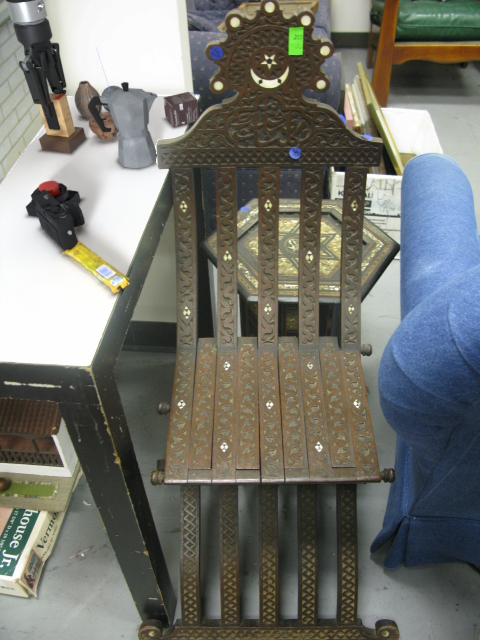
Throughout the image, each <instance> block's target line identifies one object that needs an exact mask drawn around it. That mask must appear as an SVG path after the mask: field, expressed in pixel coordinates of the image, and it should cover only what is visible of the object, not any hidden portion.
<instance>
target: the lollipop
mask: <svg viewBox="0 0 480 640" xmlns="http://www.w3.org/2000/svg"><path fill="white" fill-rule="evenodd" d="M95 49H96V52H97V55H98V58H99V61H100V64H101V67H102V69H103V70H102V71H103V73H104V74H106V73H105V70H104V67H103V63H102V61H101V58H100V54H99V51H98V48H97V47H95ZM105 79H106V83H107V87H105V88H104V89H103V91H102V92H101V95H100V96H102V95H109V94H110V93H111V92H114V91H117V90H121V89H123V88H122V87H120V86H118V85H109V82H108V79H107V76H106V75H105ZM102 108H103V109H104V110H106V111H107V113H111V112H110V110H109V107H108V105H102Z"/></svg>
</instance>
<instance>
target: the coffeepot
mask: <svg viewBox="0 0 480 640" xmlns="http://www.w3.org/2000/svg"><path fill="white" fill-rule="evenodd" d="M120 85H121V88H122V89H121V90H117V91H114V92H111V93H110V94H109V95H102V94H101V95H102V96H101V95H100V96H94V97H92V99H91V100H90V102H89V104H88V109H89V111H90V113H91V114H92V116H93V117H94V119H95V121H96V122H97V124H98V126H99V127H100V129H101V131H102V132H111V129H112V128H106V127H105V125H104V121H103V119H102V118H101V117H100V114H101V113H100V114H99V112H98V110H97V108H96V106H97V105H102V106H103V105H108V107H109V110H110V112H111V115H112V118H113V121H114V123H115V126H116V127H117V129H118V131H117V132H118V135H117V152H118V153H117V154H118V155H117V157H118V158H117V159H118V162H119V163H120V164H121V166H123V167H125V168H128V169H142V168H146V167H148V166H151V165H152V164H154V163H155V162H156V160H157V158H158V156H157V155H158V153H157V154H156V152H157V149H156V147H155V143H154V140H153V137H152V134H151V132H150V130H149V128H148V125H149V123H150V111H151V109H152V106H153V104H154V102H155V100H156V99H157V98H159V97H158V94H157V93H155V92H152V91H145V90H144V89H143V88H135V87H134V88H132V87H130V84H129V82H128V81H123V82H121V83H120ZM110 112H109V113H110Z"/></svg>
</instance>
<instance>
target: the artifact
mask: <svg viewBox="0 0 480 640" xmlns="http://www.w3.org/2000/svg"><path fill="white" fill-rule="evenodd" d="M100 117H101V118H102V119H103V121H104V125H105V127H106V128H112V129H111V132H102V131H101V129H100V127H99V126H98V124H97V122H96V121H95V119H94V117H93V116H92V117H91V118H88V126H89V129H90V131H91V132H92V133H93V134H95V136H96V137H97V138H98V139H99V140H102V141H103V140H104V141H105V140H107V141H111V140H113V139H114V138H115V137H116V136H117V133H118V132H119V131H118V129H117V127H116V126H115V123H114V121H113V118H112V115H111V113H110V112H103V113H100Z"/></svg>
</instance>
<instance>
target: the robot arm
mask: <svg viewBox="0 0 480 640" xmlns="http://www.w3.org/2000/svg"><path fill="white" fill-rule="evenodd" d="M5 3H6V6H7V7H6V8H7V11H8V14H9V18H10V20H11V21H12V22H13V24H12V26H13V30H14V33H15V36H16V40H17V42H18V43H20V44H21V45H22V46H23V55H24V59H23V60H18V66H19V68H20V70H21V71H22V73H23V76H24V78H25V81H26V84H27V87H28V90H29V93H30V96H31V99H32V101H33V104H34V105H38V104H41V106H42V109H43V112H44V116H45V118H46V120H47V124H48V127H49V129H52V130H60V125H59V121H58V118H57V114H56V111H55V107H54V103H53V102H50V96H49V93H50V91H51V93H53V94H61V93H62V94H65V95H67V89H66V88H67V81H66V76H65V72H64V67H63V63H62V59H61V52H60V51H61V50H60V43H59V42H52V41H51V39H52V38H53V32H52V28H51V24H50V20H49V19H48V18H47V17H48V13H47V9H46V5H45V1H44V0H5ZM49 88H50V90H49Z"/></svg>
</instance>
